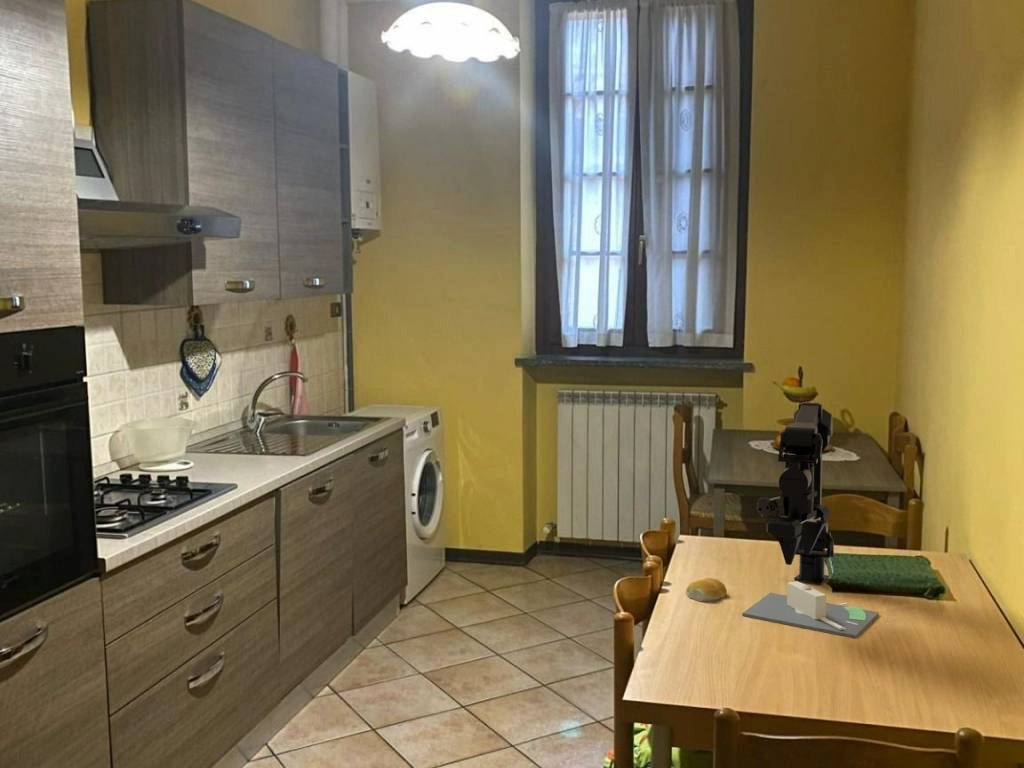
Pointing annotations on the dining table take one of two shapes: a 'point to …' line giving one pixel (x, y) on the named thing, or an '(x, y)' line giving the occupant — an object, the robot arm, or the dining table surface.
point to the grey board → (780, 612)
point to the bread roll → (706, 590)
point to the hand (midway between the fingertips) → (797, 559)
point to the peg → (808, 602)
